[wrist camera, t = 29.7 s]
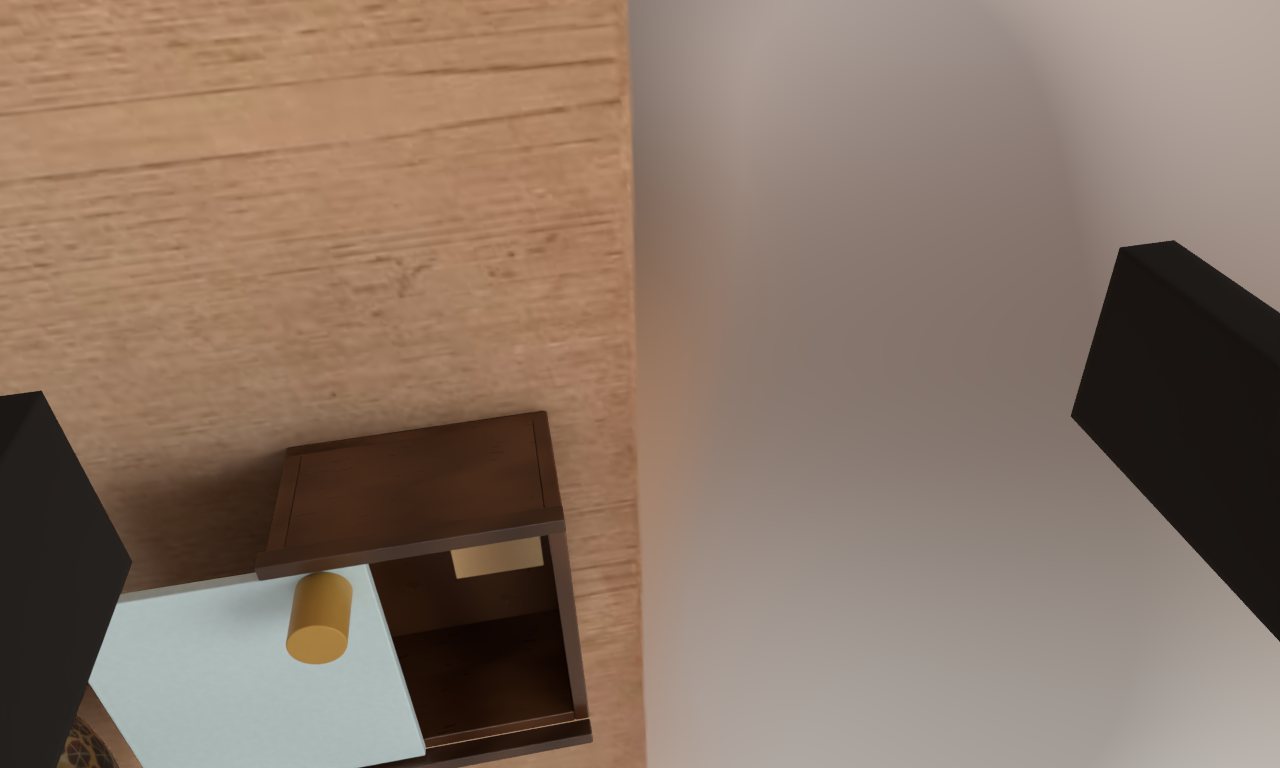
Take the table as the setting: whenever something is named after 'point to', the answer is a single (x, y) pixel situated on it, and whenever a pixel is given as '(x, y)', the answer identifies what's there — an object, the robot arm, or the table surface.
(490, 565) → the block
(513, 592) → the wooden box
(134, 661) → the pale blue square panel
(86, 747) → the ceramic bowl
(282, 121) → the table surface
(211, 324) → the table surface
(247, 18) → the table surface
